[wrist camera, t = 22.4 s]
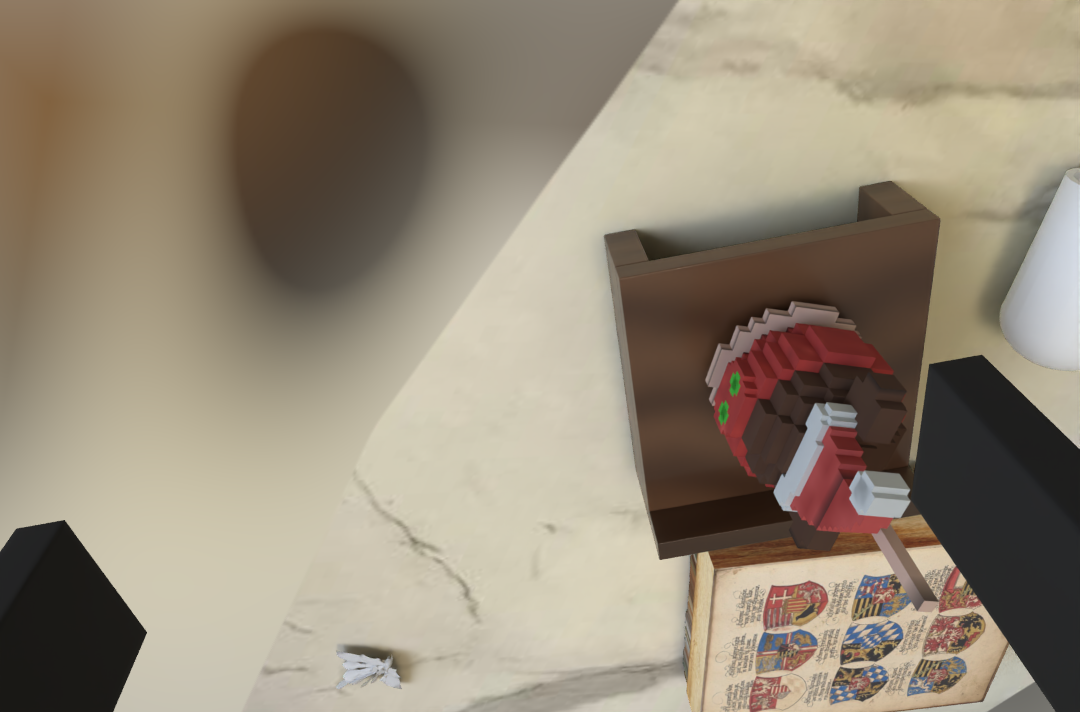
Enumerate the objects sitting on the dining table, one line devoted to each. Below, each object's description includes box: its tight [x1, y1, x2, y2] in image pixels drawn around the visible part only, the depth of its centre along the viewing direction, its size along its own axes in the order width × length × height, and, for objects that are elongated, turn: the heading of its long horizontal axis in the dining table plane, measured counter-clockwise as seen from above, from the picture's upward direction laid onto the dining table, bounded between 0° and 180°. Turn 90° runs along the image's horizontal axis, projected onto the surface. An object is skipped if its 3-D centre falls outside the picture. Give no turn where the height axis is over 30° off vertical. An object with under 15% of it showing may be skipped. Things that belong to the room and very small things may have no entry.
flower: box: [336, 651, 402, 689], centre depth 68 cm, size 8×8×3 cm
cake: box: [705, 301, 939, 612], centre depth 39 cm, size 11×9×18 cm
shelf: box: [604, 181, 940, 560], centre depth 49 cm, size 20×18×9 cm
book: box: [683, 515, 1009, 712], centre depth 64 cm, size 25×6×28 cm
